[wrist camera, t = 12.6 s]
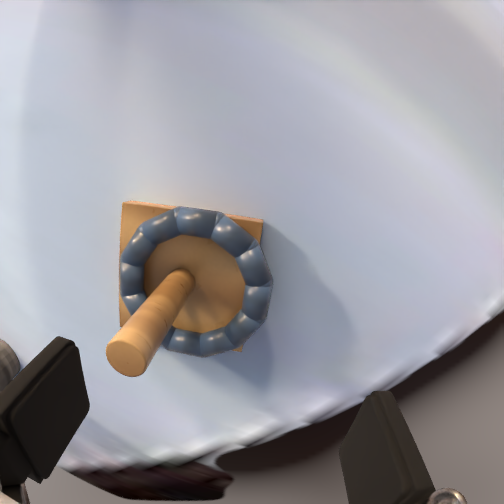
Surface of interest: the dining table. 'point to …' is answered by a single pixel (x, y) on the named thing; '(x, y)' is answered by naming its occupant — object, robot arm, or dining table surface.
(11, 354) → the beverage cup
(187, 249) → the tan pegged square slab
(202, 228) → the ring
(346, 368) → the dining table surface
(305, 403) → the dining table surface
